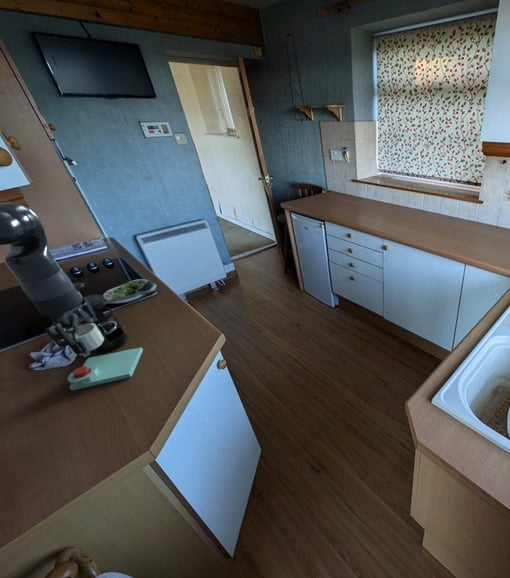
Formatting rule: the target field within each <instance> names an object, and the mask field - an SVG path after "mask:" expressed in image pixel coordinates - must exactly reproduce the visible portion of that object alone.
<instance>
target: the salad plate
mask: <svg viewBox="0 0 510 578" xmlns="http://www.w3.org/2000/svg"><path fill="white" fill-rule="evenodd" d="M157 287H158V286H157V284H156V283H155V282H152V281H151V280H150V279H145V278H140V279H133V280H131V281H127V282H126V283H124V284H122V285H118V286H115V287H113V288H111V289H108V290H107V291H105V292H103V294H102V296H104V301H105V305H107V304H127V303H133V302H134V301H136V300H139V299H142V298H145V297H147V296H149V295H152V294H153V293H155V292H156V291H157Z"/></svg>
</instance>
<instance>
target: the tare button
mask: <svg viewBox="0 0 510 578" xmlns="http://www.w3.org/2000/svg"><path fill="white" fill-rule="evenodd" d="M72 372H73V373H72ZM72 372H71V373H72V374H73V375H74V376H75V378H82V377H84V376H86V375H87V374H89V373H90V370H89V369H88V367H86V366H83V365H82V366H79V367H78V368H75V369H74V370H73V371H72Z"/></svg>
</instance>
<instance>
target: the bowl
mask: <svg viewBox="0 0 510 578" xmlns="http://www.w3.org/2000/svg"><path fill="white" fill-rule="evenodd" d="M79 329H80V331H79V332H78V336H79V340H81V341H82V343H83V344H84V346H85V347H86V348H87V351H86V352H85V353H88V352H91V351H93V350H94V349H96V348H97V347H99V346H100V345H101V344H102V343H103V341H104V337H103V335H102V334H101V332H100V330H99V329H98V327H97V326H96V325H95V324H93V323H87V324H82V325H79ZM70 330H73V328H69V329H67V331H70ZM69 336H70V337H71V338H73V336H72V334H69ZM68 347H69V348H70V346H69V345H68ZM71 351H72V352H73V350H72V349H71Z"/></svg>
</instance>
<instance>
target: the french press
mask: <svg viewBox="0 0 510 578" xmlns="http://www.w3.org/2000/svg"><path fill="white" fill-rule="evenodd" d="M72 284H73V285H74V287H75V289H76V290H77V292H78V293H79V295H80V296H81V298H87V300H88V302H89V304H90V306H91V308H92V309H93V311H94V313H95V317H93V319H94V322H93V324H95V325H96V326H97V327H98V329H99V330H100V332H101V334H102V335H103V337H104V341H103V343H102V344H101V345H100V346H99V347H97V348H96V349H94V350H92V351H93V352H94V353H96V354H106V353H110V352H112V351H115V350H117V349H119V348H122V347H123V346H124V345H126V343H128V341H129V338H130V337H129V335H128V334H127V333H126V331H125V329H124V328H123V326H122V324H121V323H120V322H119V320H118V318H117V316H116V315H115V313H114V311H113V309H112V308H111V307H108V306H106V304H105V301H106V300H105V299H104V296H103V294H89V295H85V296H83V295H82V294H81V292H80V288H83V287H84V286H85V283H84V282H75V283H72ZM103 311H108V314H106V315H105V313H104V312H103ZM84 312H86V313H87V314H89V312H88V311H84ZM111 318H113V319H114V320H109V319H111ZM79 325H81V324H79ZM114 337H116V338H115V339H113V340H109V339H111V338H114Z"/></svg>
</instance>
